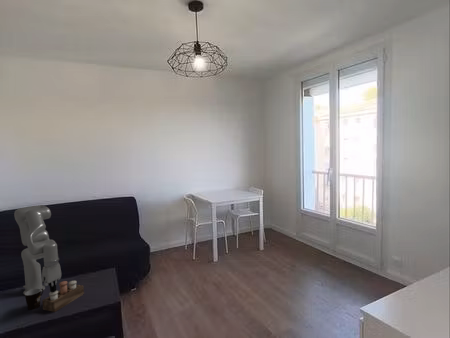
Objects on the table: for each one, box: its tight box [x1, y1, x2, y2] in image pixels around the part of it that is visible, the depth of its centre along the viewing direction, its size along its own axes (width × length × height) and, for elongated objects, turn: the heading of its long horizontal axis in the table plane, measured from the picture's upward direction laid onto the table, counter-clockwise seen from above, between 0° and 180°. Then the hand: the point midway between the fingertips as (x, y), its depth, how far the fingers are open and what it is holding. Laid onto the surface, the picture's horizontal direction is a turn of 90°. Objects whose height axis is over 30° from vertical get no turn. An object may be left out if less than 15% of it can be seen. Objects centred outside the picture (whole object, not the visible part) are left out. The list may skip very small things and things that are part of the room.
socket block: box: [41, 284, 85, 313], centre depth 181 cm, size 10×22×6 cm, turn 161°
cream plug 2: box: [67, 280, 77, 290], centre depth 188 cm, size 5×5×8 cm
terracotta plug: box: [58, 280, 68, 295], centre depth 181 cm, size 5×5×8 cm
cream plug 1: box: [48, 289, 59, 301], centre depth 174 cm, size 5×5×8 cm
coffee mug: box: [24, 288, 44, 311], centre depth 177 cm, size 12×9×10 cm
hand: (53, 291), depth 174 cm, fingers closed
